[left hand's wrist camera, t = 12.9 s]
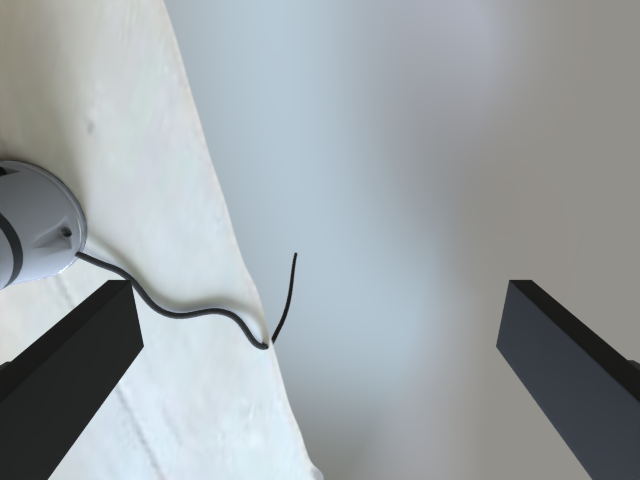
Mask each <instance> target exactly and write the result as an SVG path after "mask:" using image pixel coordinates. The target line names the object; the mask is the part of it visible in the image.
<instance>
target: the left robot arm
mask: <svg viewBox="0 0 640 480" xmlns="http://www.w3.org/2000/svg"><path fill="white" fill-rule="evenodd" d="M86 237H87V228H86V221H85V218H84V214H83V212H82V209H81V207H80V205H79V203H78V202H77V200H76V198H75V197H74V195H73V194H72V193H71V192H70V190H69V189H68V188H67V187H66V186H65V185H64V184H63V183H62V182H61V181H60V180H58V179H57V178H56V177H54V176H53V175H52V174H50V173H49V172H47V171H45V170H43V169H41V168H39V167H37V166H34V165H31V164H28V163H24V162H19V161H0V290H1V289H3V288H5V287H7V286H9V285H14V284H19V283H24V282H29V281H34V280H39V279H44V278H47V277H50V276H52V275H55V274H57V273H59V272H61V271H63V270H64V269H66V268H67V267H69V266H70V265H72V264H73V263H74V262H75V261H76V260H77V259H78V258H80V259H83V260H85V261H87V262H89V263H92V264H94V265H96V266H99V267H101V268H104V269H107V270H110V271H113V272H115V273H117V274H119V275H120V276H122V277H123V278H124V279H126V280H108V281H107V282H106V283H104V284H103V285H102V286H101V287H100V288H98V289H97V290H96V291H95V292H94V293H92V294H91V295H90V296H89V297H88V298H86V299H85V300H84V301H83V302H82V303H80V304H79V305H78V306H77V307H76V308H74V309H73V310H72V311H71V312H70V313H68V314H67V315H66V316H65V317H64V318H63V319H61V320H60V321H59V322H58V323H57V324H55V325H54V326H53V327H52V328H51V329H49V330H48V331H47V332H46V333H45V334H43V335H42V336H41V337H40V338H39V339H37V340H36V341H35V342H34V343H33V344H31V345H30V346H29V347H28V348H27V349H25V350H24V351H23V352H22V353H21V354H20V355H18V356H17V357H16V358H15V359H14V360H12V361H11V362H5V363H4V364H2V365H0V480H48V478H49V477H50V476H51V474H52V473H53V472H54V470H55V469H56V467H57V466H58V465H59V463H60V462H61V460H62V459H63V458H64V456H65V455H66V454H67V452H68V451H69V449H70V448H71V447H72V445H73V444H74V442H75V441H76V440H77V438H78V437H79V436H80V434H81V433H82V431H83V430H84V429H85V427H86V426H87V425H88V423H89V422H90V420H91V419H92V418H93V416H94V415H95V413H96V412H97V411H98V409H99V408H100V407H101V405H102V404H103V402H104V401H105V400H106V398H107V397H108V395H109V394H110V393H111V391H112V390H113V389H114V387H115V386H116V384H117V383H118V382H119V380H120V379H121V377H122V376H123V375H124V373H125V372H126V371H127V369H128V368H129V366H130V365H131V364H132V362H133V361H134V360H135V358H136V357H137V355H138V354H139V353H140V351H141V350H142V348H143V347H144V344H143V339H142V334H141V329H140V324H139V319H138V314H137V309H136V304H135V299H134V294H133V289H132V286H133V287H134V289H135V290H136V291H137V292H138V294H139V295H140V296H141V298H142V299H143V300H144V301H145V302H146V304H147V305H148V306H149V307H150V308H152V309H153V310H154V311H156V312H157V313H159V314H161V315H163V316H166V317H169V318H174V319H187V318H193V317H197V316H202V315H208V314H220V315H224V316H227V317H229V318H231V319H233V320H234V321H235V322H236V323H237V324H238V325H239V326H240V327H241V329H242V330H243V332H244V334H245V335H246V337H247V338H248V340H249V341H250V342H251V344H252V345H253V346H255V347H256V348H258V349H261V350H266V349H268V348H269V347H268V345H266V344H261V343H259V342H258V341H257V340H256V339H255V338H254V337H253V335H252V334H251V332H250V330H249V329H248V327H247V326H246V324H245V323H244V322H243V321H242V319H241V318H240V317H239V316H237V315H236V314H234V313H232V312H231V311H228V310H225V309H219V308H210V309H203V310H198V311H193V312H188V313H173V312H170V311H167V310H164V309H162V308H161V307H159V306H158V305H156V304H155V303H154V302H153V301H152V300H151V299H150V297H149V296H148V295H147V294H146V292H145V291H144V290H143V288H142V287H141V286H140V285H139V283H138V282H137V281H136V280H135V279H134V278H133V277H132V276H131V275H129V274H128V273H127V272H125V271H124V270H122V269H121V268H119V267H116V266H114V265H111V264H108V263H106V262H103V261H100V260H98V259H96V258H94V257H91V256H89V255H87V254H84V253H82V251H83V249H84V247H85V243H86ZM296 259H297V253H294V257H293V262H292V269H291V277H290V284H289V291H288V296H287V301H286V305H285V309H284V312H283V315H282V317H281V320H280V322H279V324H278V326H277V328H276V330H275V332H274V334H273V336H272V338H271V341H272V344H274V343H275V341H276V339H277V336H278V334H279V332H280V330H281V328H282V326H283V324H284V322H285V319H286V317H287V314H288V310H289V307H290V303H291V297H292V291H293V283H294V274H295V265H296ZM496 347H497V348H498V350H499V351H500V353H501V354H502V355H503V357H504V358H505V360H506V361H507V362H508V364H509V365H510V366H511V368H512V369H513V370H514V372H515V373H516V375H517V376H518V377H519V379H520V380H521V382H522V383H523V384H524V386H525V387H526V389H527V390H528V391H529V393H530V394H531V395H532V397H533V398H534V400H535V401H536V402H537V404H538V405H539V407H540V408H541V409H542V411H543V412H544V413H545V415H546V416H547V418H548V419H549V420H550V422H551V423H552V425H553V426H554V427H555V429H556V430H557V431H558V433H559V434H560V436H561V437H562V438H563V440H564V441H565V443H566V444H567V445H568V447H569V448H570V449H571V451H572V452H573V454H574V455H575V456H576V458H577V459H578V460H579V462H580V463H581V465H582V466H583V467H584V469H585V470H586V472H587V473H588V474H589V476H590V477H591V478H592V480H640V364H639V363H637V362H635V361H634V360H626V359H625V358H624V357H623V356H622V355H620V354H619V353H618V352H617V351H616V350H615V349H613V348H612V347H611V346H610V345H608V344H607V343H606V342H605V341H604V340H603V339H601V338H600V337H599V336H598V335H597V334H595V333H594V332H593V331H592V330H591V329H589V328H588V327H587V326H586V325H585V324H583V323H582V322H581V321H580V320H579V319H577V318H576V317H575V316H574V315H573V314H571V313H570V312H569V311H568V310H567V309H566V308H564V307H563V306H562V305H561V304H560V303H558V302H557V301H556V300H555V299H554V298H552V297H551V296H550V295H549V294H548V293H546V292H545V291H544V290H543V289H542V288H540V287H539V286H538V285H537V284H536V283H534V282H533V281H532V280H509V284H508V289H507V294H506V299H505V304H504V309H503V314H502V319H501V324H500V329H499V334H498V340H497V344H496Z"/></svg>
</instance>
